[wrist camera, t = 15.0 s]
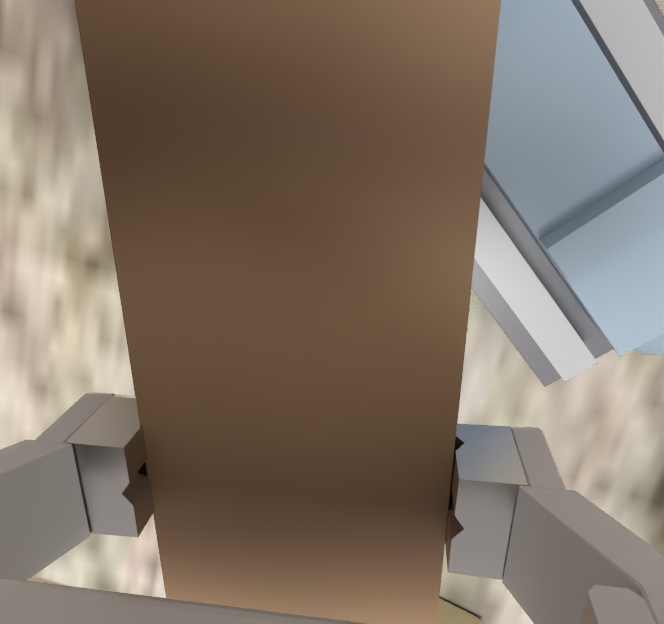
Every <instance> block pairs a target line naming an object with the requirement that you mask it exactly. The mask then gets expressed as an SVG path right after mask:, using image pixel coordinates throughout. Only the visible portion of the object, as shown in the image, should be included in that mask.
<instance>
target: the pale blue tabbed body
mask: <svg viewBox="0 0 664 624" xmlns="http://www.w3.org/2000/svg"><path fill="white" fill-rule="evenodd" d="M484 168H485V170H486V171H487V172H488V174H489V175H490V177H491V178H492V180H493V181H494V182H495V184H496V185H497V187H498V188H499V190H500V191H501V193H502V194H503V195H504V197H505V198H506V200H507V201H508V203H509V204H510V205H511V207H512V208H513V210H514V211H515V213H516V214H517V216H518V217H519V218H520V220H521V221H522V223H523V224H524V226H525V227H526V228H527V230H528V231H529V233H530V234H531V236H532V237H533V238H534V240H535V241H536V243H537V244H538V246H539V247H540V249H541V250H542V251H543V253H544V254H545V256H546V257H547V259H548V260H549V261H550V263H551V264H552V266H553V267H554V269H555V270H556V272H557V273H558V274H559V276H560V277H561V279H562V280H563V282H564V283H565V284H566V286H567V287H568V289H569V290H570V292H571V293H572V295H573V296H574V297H575V299H576V300H577V302H578V303H579V305H580V306H581V307H582V309H583V310H584V312H585V313H586V315H587V316H588V317H589V319H590V320H591V321H592V322H593V324H594V325H595V326H596V327H597V329H598V330H599V331H600V332H601V334H602V335H603V336H604V337H605V339H606V340H607V341H608V342H609V344H610V345H611V346H612V347H613V349H614V350H615V351H616V352H617V354H618V355H619V356H620V357H621V356H623V355H624V354H626V353H628V352H630V351H632V350H633V351H636V352H639V353H643V354H647V355H664V153H663V151H662V150H661V148H660V146H659V145H658V143H657V141H656V140H655V138H654V136H653V135H652V133H651V132H650V130H649V128H648V127H647V125H646V123H645V122H644V120H643V118H642V117H641V115H640V113H639V112H638V110H637V108H636V107H635V105H634V103H633V102H632V100H631V98H630V97H629V95H628V94H627V92H626V90H625V89H624V87H623V85H622V84H621V82H620V80H619V79H618V77H617V75H616V74H615V72H614V70H613V69H612V67H611V65H610V64H609V62H608V61H607V59H606V57H605V56H604V54H603V52H602V51H601V49H600V47H599V46H598V44H597V42H596V41H595V39H594V37H593V36H592V34H591V32H590V31H589V29H588V27H587V26H586V24H585V23H584V21H583V19H582V18H581V16H580V14H579V13H578V11H577V9H576V8H575V6H574V4H573V3H572V1H571V0H501V6H500V16H499V26H498V35H497V45H496V54H495V64H494V74H493V83H492V93H491V102H490V112H489V122H488V131H487V141H486V150H485V160H484Z"/></svg>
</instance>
